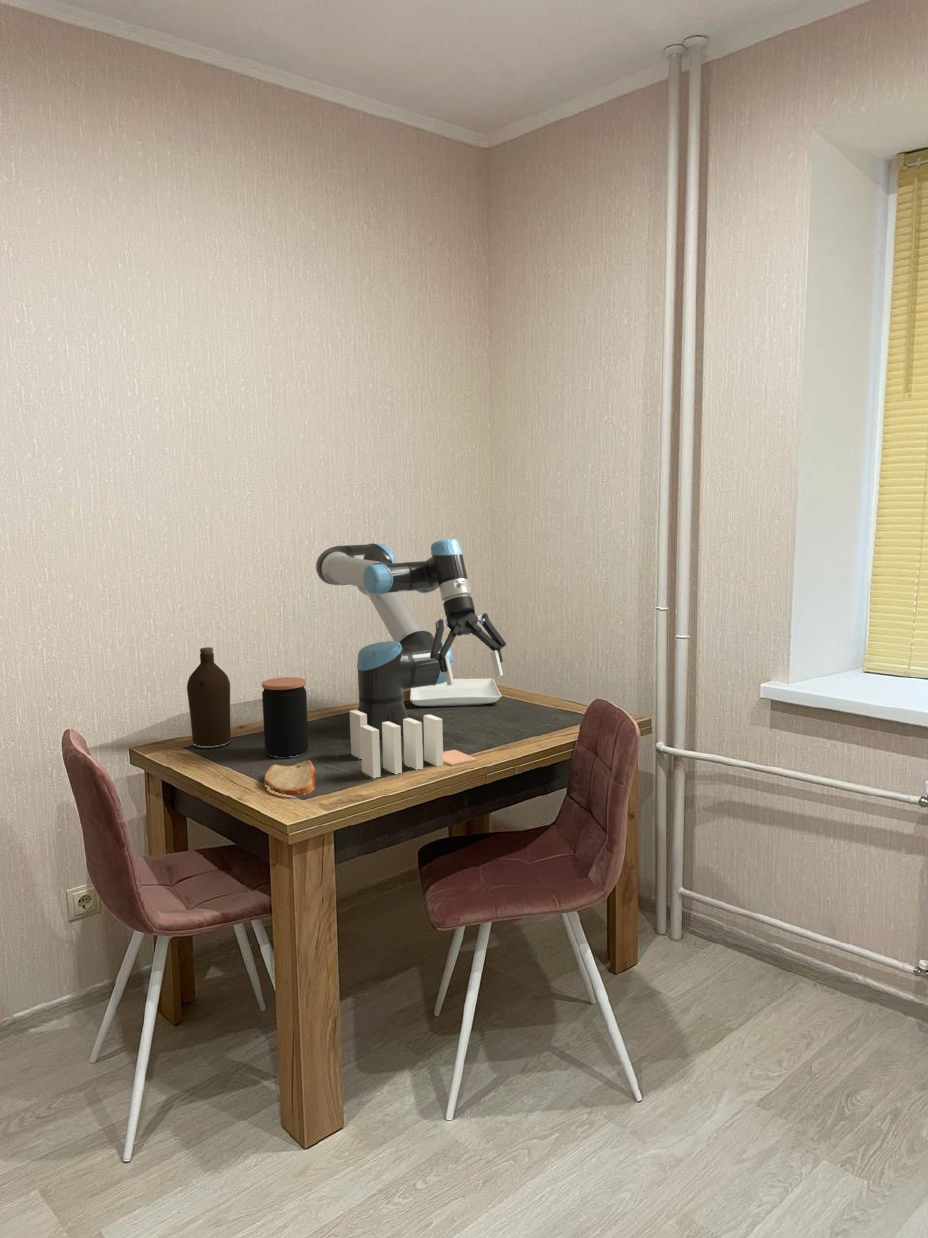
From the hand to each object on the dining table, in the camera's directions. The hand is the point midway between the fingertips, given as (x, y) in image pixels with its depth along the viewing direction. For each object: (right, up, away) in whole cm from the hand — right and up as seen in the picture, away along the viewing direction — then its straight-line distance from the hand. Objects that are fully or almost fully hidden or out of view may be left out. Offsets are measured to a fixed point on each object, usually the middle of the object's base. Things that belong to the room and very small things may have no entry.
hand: (475, 680), depth 234 cm
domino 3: (-19, -20, -18) cm, 33 cm away
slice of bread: (-40, -22, -26) cm, 52 cm away
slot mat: (-5, -18, -10) cm, 21 cm away
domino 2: (-24, -20, -21) cm, 38 cm away
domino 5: (-10, -19, -13) cm, 25 cm away
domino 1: (-28, -18, -7) cm, 34 cm away
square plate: (-6, -10, +55) cm, 56 cm away
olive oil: (-68, -17, +8) cm, 70 cm away
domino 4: (-15, -19, -16) cm, 29 cm away
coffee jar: (-47, -18, -2) cm, 50 cm away
